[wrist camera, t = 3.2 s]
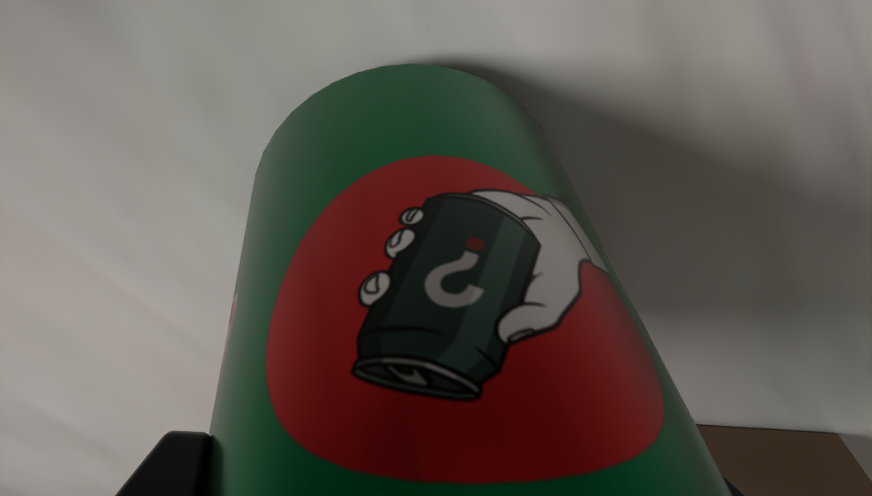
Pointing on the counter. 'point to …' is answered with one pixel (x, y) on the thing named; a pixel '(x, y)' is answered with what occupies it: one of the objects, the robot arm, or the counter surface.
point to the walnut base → (785, 462)
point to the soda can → (435, 314)
